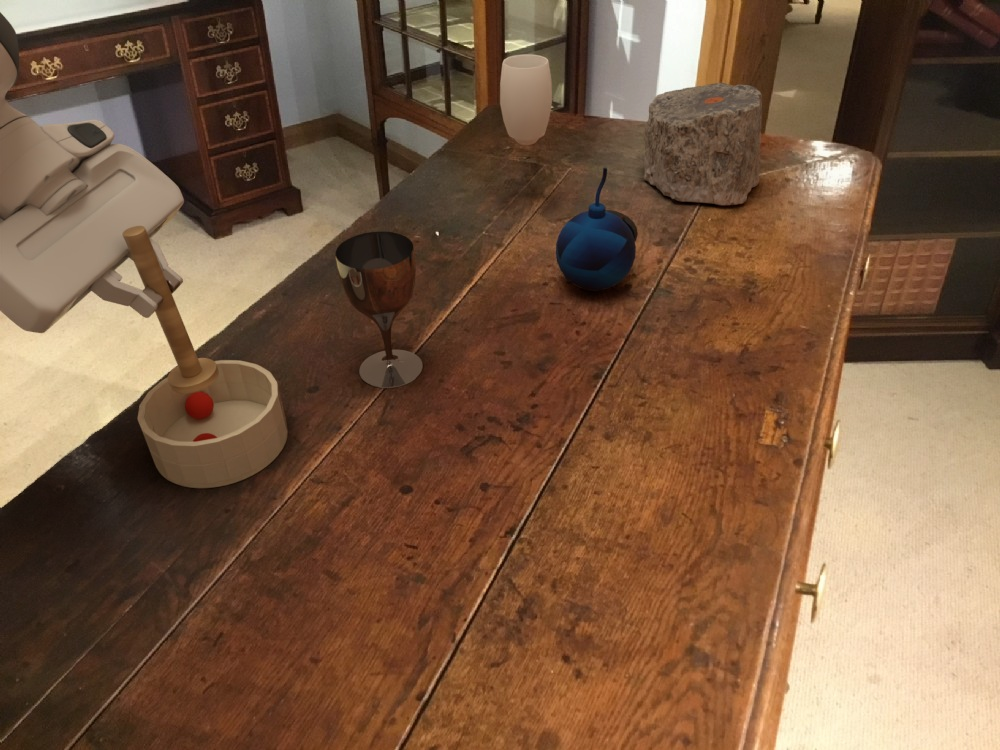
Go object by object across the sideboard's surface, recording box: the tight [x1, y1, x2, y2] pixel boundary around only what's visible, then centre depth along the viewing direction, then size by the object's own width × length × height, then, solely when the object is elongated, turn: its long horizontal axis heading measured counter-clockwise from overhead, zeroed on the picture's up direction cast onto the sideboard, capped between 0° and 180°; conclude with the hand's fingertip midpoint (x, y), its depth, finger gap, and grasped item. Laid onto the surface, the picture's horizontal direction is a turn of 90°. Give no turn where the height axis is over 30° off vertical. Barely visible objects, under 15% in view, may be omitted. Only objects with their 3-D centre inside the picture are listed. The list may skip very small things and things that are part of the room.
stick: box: [122, 226, 219, 394], centre depth 73 cm, size 4×4×15 cm
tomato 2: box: [193, 433, 217, 442], centre depth 83 cm, size 3×3×3 cm
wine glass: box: [335, 231, 424, 389], centre depth 91 cm, size 8×8×15 cm
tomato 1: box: [185, 392, 214, 419], centre depth 88 cm, size 3×3×3 cm
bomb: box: [555, 167, 639, 292], centre depth 104 cm, size 10×11×15 cm
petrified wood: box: [643, 82, 763, 206], centre depth 126 cm, size 19×17×15 cm
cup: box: [499, 53, 553, 146], centre depth 121 cm, size 7×7×21 cm
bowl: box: [137, 359, 289, 489], centre depth 85 cm, size 13×13×6 cm
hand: (166, 299), depth 72 cm, fingers closed on stick, 2 cm apart
